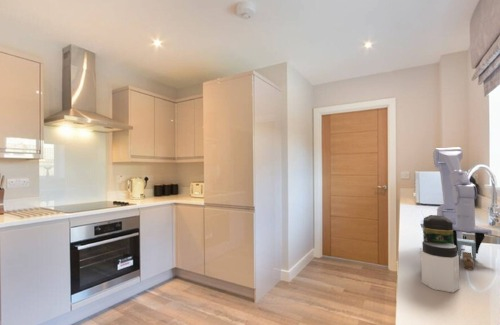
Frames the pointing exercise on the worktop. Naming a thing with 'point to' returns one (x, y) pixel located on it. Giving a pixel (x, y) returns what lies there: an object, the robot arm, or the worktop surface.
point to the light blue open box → (466, 243)
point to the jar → (440, 266)
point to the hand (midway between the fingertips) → (466, 251)
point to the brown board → (468, 260)
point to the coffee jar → (437, 229)
